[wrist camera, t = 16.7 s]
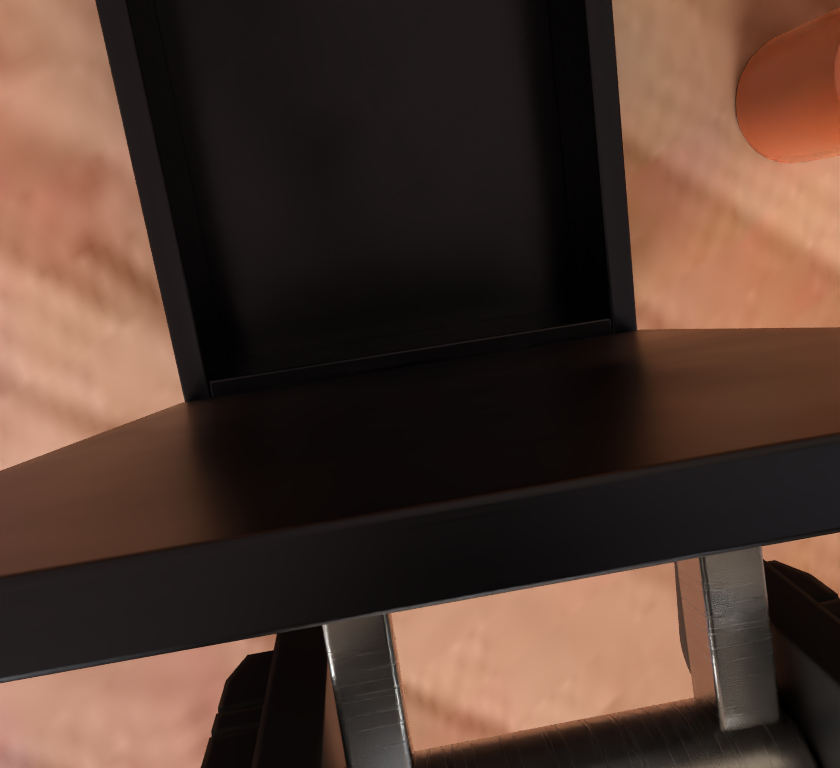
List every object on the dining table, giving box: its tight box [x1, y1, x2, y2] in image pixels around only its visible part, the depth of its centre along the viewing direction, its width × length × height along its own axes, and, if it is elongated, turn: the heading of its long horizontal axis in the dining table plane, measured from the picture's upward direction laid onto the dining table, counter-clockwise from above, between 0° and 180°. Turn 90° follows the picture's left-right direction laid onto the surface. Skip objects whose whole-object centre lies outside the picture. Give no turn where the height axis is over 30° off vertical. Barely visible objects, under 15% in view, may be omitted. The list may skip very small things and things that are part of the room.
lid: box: [0, 327, 840, 768], centre depth 15 cm, size 19×16×5 cm
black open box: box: [95, 0, 637, 402], centre depth 25 cm, size 18×16×5 cm
